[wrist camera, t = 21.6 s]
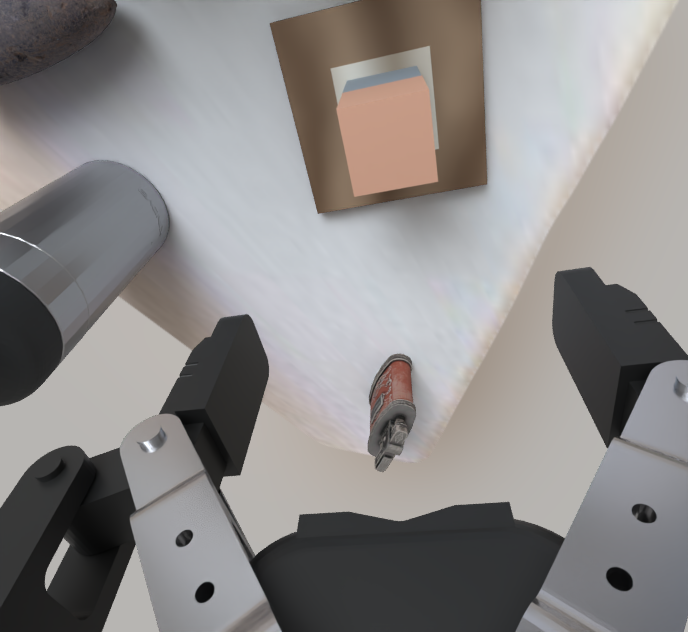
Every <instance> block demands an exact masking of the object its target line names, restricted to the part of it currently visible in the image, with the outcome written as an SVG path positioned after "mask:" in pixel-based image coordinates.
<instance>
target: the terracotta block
mask: <svg viewBox="0 0 688 632" xmlns="http://www.w3.org/2000/svg"><path fill="white" fill-rule="evenodd" d="M336 110H337V115H338V120H339V125H340V130H341V135H342V140H343V145H344V149H345V154H346V159H347V164H348V169H349V174H350V179H351V184H352V188H353V193H354V197H357V196H362V195H368V194H373V193H379V192H384V191H390V190H395V189H401V188H406V187H412V186H417V185H423V184H428V183H434V182H438V175H437V165H436V155H435V145H434V134H433V124H432V114H431V104H430V94H429V88H428V86H427V84H426V82H425V80H424V78H423V76H422V75H421V76H416V77H412V78H407V79H403V80H398V81H394V82H389V83H385V84H380V85H376V86H371V87H367V88H362V89H358V90H353V91H349V92H344V93H342V96H341V98H340V101H339V104H338V106H337V109H336Z"/></svg>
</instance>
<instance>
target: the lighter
mask: <svg viewBox="0 0 688 632" xmlns="http://www.w3.org/2000/svg"><path fill="white" fill-rule="evenodd" d="M411 371H412V361H411V359H410V358H409V357H408V356H406V355H404V354H394V355H391V356H390V357H389V358H388V359H387V360H386V362H385V363H384V364H383V365H382V366H381V368H380V370H379V371H378V373H377V374H376V376H375V379H374V381H373V383H372V386H371V390H370V395H369V404H370V406H371V414H370V436H369V440H368V452H369V453H370V454H371V455H373V456H375V457H376V458H375V469H376V470H377V471H380V472H384V471H385V470H386V469H387V468H388V466H389V465H390V463H391V461H392V460H393V458H394V457H395V455H400V454H401V453H402V450H403V446H404V441H405V439H406V438H407V436H408V434H409V432H410V430H411V428H412V426H413V423H414V420H415V417H416V409H415V406H414V404H413V397H412V384H411Z"/></svg>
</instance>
